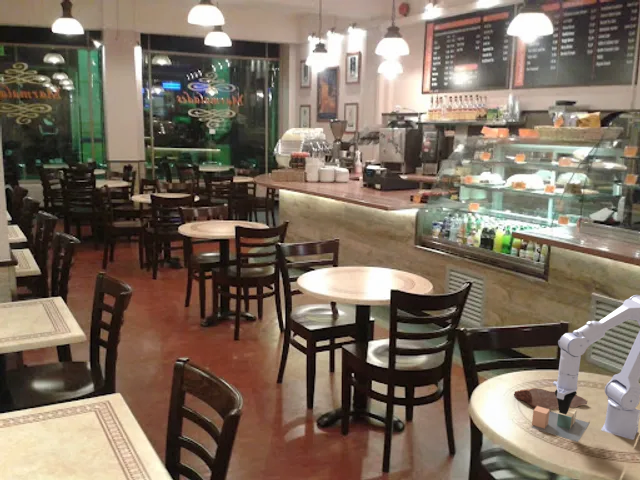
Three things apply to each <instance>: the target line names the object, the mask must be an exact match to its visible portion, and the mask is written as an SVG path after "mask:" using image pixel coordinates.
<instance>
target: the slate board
mask: <svg viewBox="0 0 640 480" xmlns="http://www.w3.org/2000/svg"><path fill="white" fill-rule="evenodd" d="M558 414H559V413H558V412H554V411H551V410H550V412H549V420H548V425H547V426H546V427H545V429H544V428H541V427H538V426H534V425H532V426H531V429H534V430H538V431H541V432H544V433H546V434H547V433H548V434H551V435H554V436H557V437H560V438H563V439H567V440H570V441H573V442H577V443H579V441H580V440H581V438H582V436H583V435H584V433H585V431H586V430H587V428H588V426H589V425H590V422H588V421H586V420H585V421H584V420H581V419H578V418H576V419H575V422H574V424H573V425H572V427H571V428H570V429H567V428H564V427H561V426H557V420H558Z"/></svg>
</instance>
